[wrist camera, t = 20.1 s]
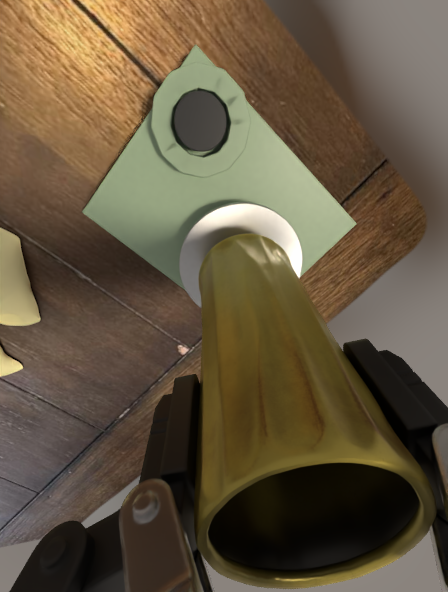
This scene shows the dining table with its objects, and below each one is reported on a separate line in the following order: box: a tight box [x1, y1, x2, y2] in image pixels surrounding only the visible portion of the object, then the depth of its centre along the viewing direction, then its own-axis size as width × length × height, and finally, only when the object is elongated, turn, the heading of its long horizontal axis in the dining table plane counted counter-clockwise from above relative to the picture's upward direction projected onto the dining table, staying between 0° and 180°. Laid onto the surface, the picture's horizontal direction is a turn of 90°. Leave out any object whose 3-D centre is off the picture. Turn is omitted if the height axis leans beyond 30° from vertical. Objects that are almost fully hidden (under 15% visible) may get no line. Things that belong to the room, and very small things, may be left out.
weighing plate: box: [179, 202, 303, 308], centre depth 21 cm, size 9×9×1 cm
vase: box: [194, 234, 437, 589], centre depth 13 cm, size 6×6×14 cm
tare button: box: [174, 91, 227, 152], centre depth 17 cm, size 3×3×2 cm
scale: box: [82, 45, 356, 290], centre depth 22 cm, size 16×13×4 cm
